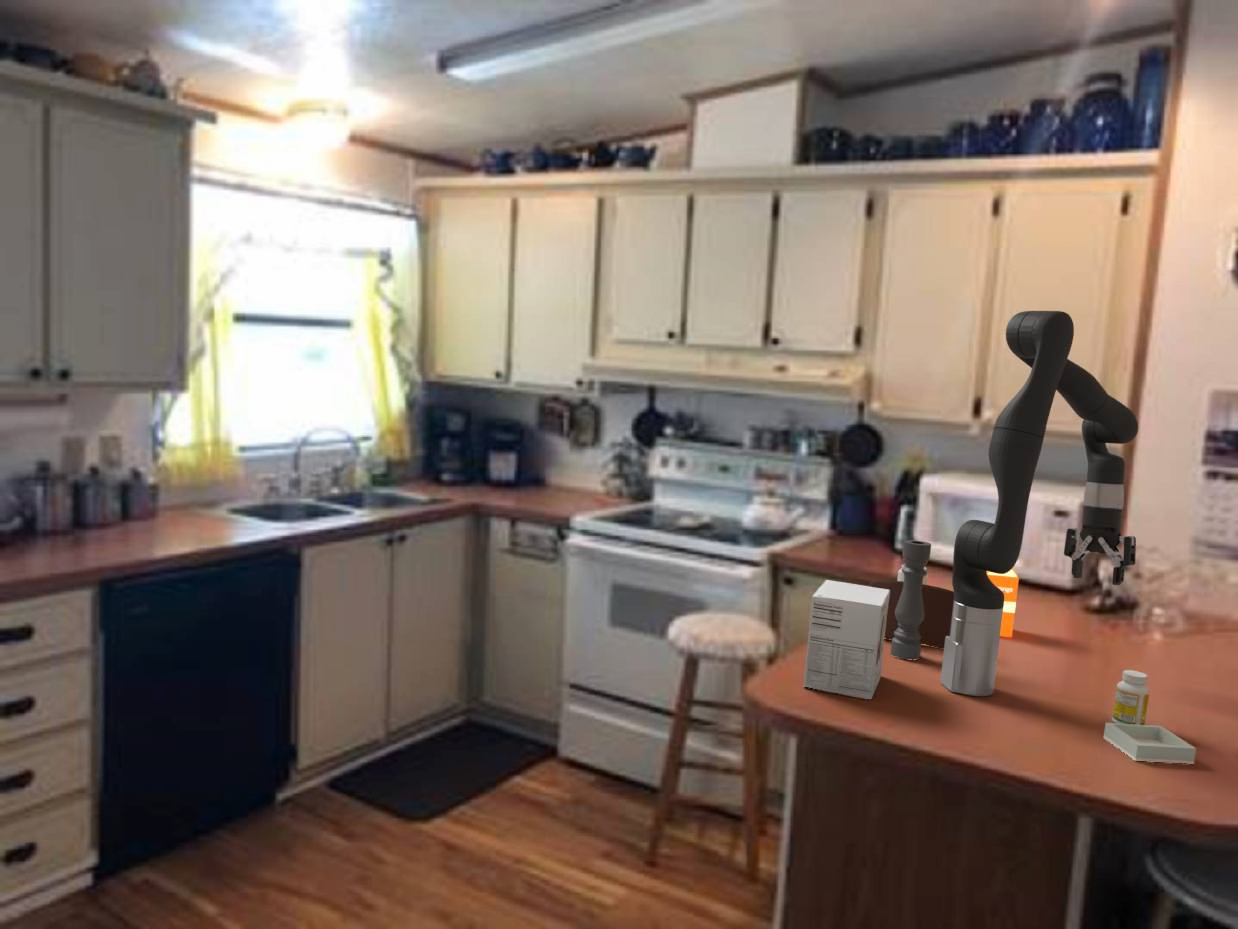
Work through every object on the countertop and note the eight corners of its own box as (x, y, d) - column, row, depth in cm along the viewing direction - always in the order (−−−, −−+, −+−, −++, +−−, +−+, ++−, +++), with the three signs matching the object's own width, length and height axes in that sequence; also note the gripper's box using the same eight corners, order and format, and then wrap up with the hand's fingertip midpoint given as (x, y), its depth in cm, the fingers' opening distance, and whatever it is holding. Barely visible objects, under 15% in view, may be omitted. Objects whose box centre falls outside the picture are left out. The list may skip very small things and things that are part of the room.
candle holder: (924, 657, 218) (937, 544, 215) (911, 662, 213) (924, 546, 210) (898, 650, 222) (910, 538, 219) (885, 655, 217) (897, 541, 214)
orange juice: (1002, 627, 249) (1011, 548, 247) (1012, 637, 240) (1022, 555, 238) (969, 624, 250) (978, 545, 247) (978, 634, 241) (988, 552, 239)
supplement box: (873, 701, 186) (883, 606, 184) (801, 688, 191) (810, 595, 189) (882, 676, 202) (891, 588, 200) (816, 664, 207) (825, 578, 205)
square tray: (1135, 761, 166) (1137, 745, 166) (1103, 738, 176) (1105, 722, 176) (1193, 764, 167) (1196, 748, 166) (1158, 741, 176) (1160, 725, 176)
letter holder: (953, 651, 225) (960, 590, 223) (863, 637, 231) (869, 577, 229) (954, 640, 234) (961, 581, 232) (867, 627, 240) (873, 569, 239)
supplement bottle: (1122, 729, 181) (1130, 677, 180) (1105, 718, 187) (1112, 668, 186) (1150, 730, 182) (1158, 678, 181) (1133, 719, 187) (1139, 669, 186)
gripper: (1061, 501, 214) (1055, 576, 215) (1127, 508, 203) (1120, 588, 204) (1080, 501, 219) (1074, 575, 220) (1146, 508, 207) (1139, 586, 208)
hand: (1096, 581), depth 212 cm, fingers open, 8 cm apart
